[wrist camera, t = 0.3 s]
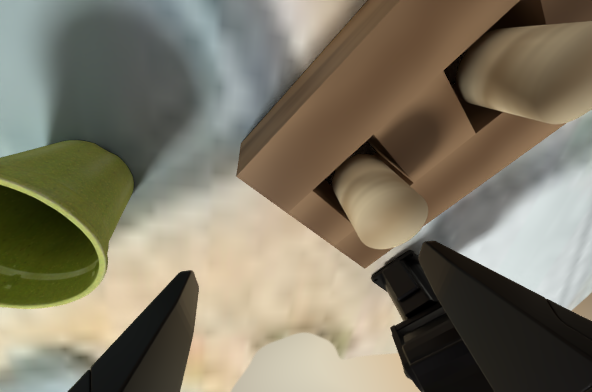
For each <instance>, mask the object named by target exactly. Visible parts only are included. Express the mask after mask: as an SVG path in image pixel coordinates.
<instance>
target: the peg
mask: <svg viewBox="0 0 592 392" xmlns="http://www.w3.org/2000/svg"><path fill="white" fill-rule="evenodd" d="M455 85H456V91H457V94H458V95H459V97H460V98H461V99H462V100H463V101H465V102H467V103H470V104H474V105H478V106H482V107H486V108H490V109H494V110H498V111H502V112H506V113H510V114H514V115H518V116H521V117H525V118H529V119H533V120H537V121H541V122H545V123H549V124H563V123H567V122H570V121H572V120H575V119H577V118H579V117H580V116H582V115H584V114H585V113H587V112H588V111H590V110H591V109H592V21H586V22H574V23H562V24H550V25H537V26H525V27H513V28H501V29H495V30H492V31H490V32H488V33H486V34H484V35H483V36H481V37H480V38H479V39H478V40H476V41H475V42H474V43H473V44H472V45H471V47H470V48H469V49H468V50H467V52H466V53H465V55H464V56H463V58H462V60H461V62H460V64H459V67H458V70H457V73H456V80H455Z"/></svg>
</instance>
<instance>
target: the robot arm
mask: <svg viewBox="0 0 592 392" xmlns="http://www.w3.org/2000/svg"><path fill="white" fill-rule="evenodd" d="M371 279H372V281H373V282H374V283H375V284H377V285H378V286H380V287H381V288H383V289H384V290H385V291H387V292H388V293H389V295H390V297H391V299H392V301H393V303H394V304H395V306H396V308H397V310H398V312H399V314H400V315H401V317H402V319H403V322H401V323H399V324H397V325H396V326H395V325H394V326H392V327H390V328H391V331H392V336H393V339H394V342H395V345H396V347H397V350H398V353H399V356H400V358H401V361H402V365H403V369H404V373H405V375H406V376H407V377H408V378H410V379H411V380H412V381H413V382H414V383H415V385H416V386H417V387H418V389H419V390H420V391H421V392H592V321H590V320H588V319H586V318H584V317H582V316H580V315H578V314H576V313H574V312H572V311H570V310H568V309H566V308H564V307H562V306H560V305H558V304H556V303H554V302H552V301H551V300H549V299H545V298H544V297H543V296H541V295H539V294H537V293H535V292H533V291H531V290H529V289H527V288H525V287H523V286H521V285H519V284H518V283H516V282H514V281H512V280H510V279H508V278H506V277H504V276H502V275H500V274H498V273H496V272H494V271H492V270H490V269H488V268H487V267H485V266H483V265H481V264H479V263H477V262H475V261H473V260H471V259H469V258H467V257H465V256H463V255H461V254H459V253H457V252H456V251H454V250H452V249H450V248H448V247H446V246H444V245H442V244H440V243H438V242H436V241H427V242H424V243H423V245H422V248H421V251H420V254H419V256H418V255H417V254H416V253H415V252H414V251H412V250H410V251H407V252H406V253H405V254H403V255H402V256H400V257H399V258H397V259H396V260H395V261H393V262H392V263H390V264H389V265H388V266H386V267H385V268H383V269H382V270H380V271H379V272H378V273H376V274H375V275H373V276H372V277H371ZM198 292H199V286H198V283H197V280H196V277H195V275H194V272H193V271H192V270H189V271H182V272H180V273H178V275H177V276H176V277H175V278H174V279H173V280H172V281H171V282H170V283H169V284H168V285H167V286H166V287H165V288H164V289H163V291H162V292H161V293H160V294H159V295H158V296H157V297H156V298H155V299H154V300H153V301H152V302H151V303H150V304H149V306H148V307H147V308H146V309H145V310H144V311H143V312H142V313H141V314H140V315H139V316H138V317H137V318H136V319H135V320H134V322H133V323H132V324H131V325H130V326H129V327H128V328H127V329H126V330H125V331H124V332H123V333H122V334H121V335H120V337H119V338H118V339H117V340H116V341H115V342H114V343H113V344H112V345H111V346H110V347H109V348H108V349H107V350H106V351H105V353H104V354H103V355H102V356H101V357H100V358H99V359H98V360H97V361H96V362H95V363H94V364H93V365H92V366H91V369H90V370H88V371H87V372H86V373H85V374H84V375H83V376H82V377H81V378H80V379H79V380H78V381H77V382H76V383H75V384H74V386H73V387H72V388H71V389H70V390H69V391H68V392H180V389H181V385H182V381H183V376H184V372H185V368H186V363H187V359H188V355H189V351H190V346H191V342H192V337H193V332H194V325H195V317H196V309H197V301H198Z"/></svg>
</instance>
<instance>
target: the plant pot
mask: <svg viewBox="0 0 592 392" xmlns="http://www.w3.org/2000/svg"><path fill="white" fill-rule="evenodd" d="M133 188H134V181H133V177H132V174H131V172H130V170H129V168H128V167H127V166H126V164H125V163H124V162H123V161H122V160H121V159H120V158H119V157H118V156H116V155H114V154H112V153H110V152H108V151H106V150H105V149H103V148H101V147H99V146H98V145H96V144H94V143H91V142H87V141H80V140H68V141H62V142H58V143H55V144H51V145H47V146H43V147H40V148H36V149H32V150H29V151H25V152H21V153H17V154H13V155H9V156H5V157H1V158H0V307H8V308H17V309H36V308H47V307H52V306H60V305H64V304H67V303H70V302H72V301H76V300H78V299H81V298H83V297H84V296H86V295H88V294H89V293H91V292H92V291H93V290H94V289H95V288H96V287H97V286H98V285H99V284H100V283H101V281H102V280H103V278H104V276H105V273H106V270H107V265H108V257H107V252H108V245H109V240H110V238H111V236H112V234H113V232H114V230H115V228H116V225H117V223H118V221H119V219H120V217H121V215H122V213H123V211H124V209H125V207H126V205H127V203H128V201H129V199H130V197H131V195H132V192H133Z"/></svg>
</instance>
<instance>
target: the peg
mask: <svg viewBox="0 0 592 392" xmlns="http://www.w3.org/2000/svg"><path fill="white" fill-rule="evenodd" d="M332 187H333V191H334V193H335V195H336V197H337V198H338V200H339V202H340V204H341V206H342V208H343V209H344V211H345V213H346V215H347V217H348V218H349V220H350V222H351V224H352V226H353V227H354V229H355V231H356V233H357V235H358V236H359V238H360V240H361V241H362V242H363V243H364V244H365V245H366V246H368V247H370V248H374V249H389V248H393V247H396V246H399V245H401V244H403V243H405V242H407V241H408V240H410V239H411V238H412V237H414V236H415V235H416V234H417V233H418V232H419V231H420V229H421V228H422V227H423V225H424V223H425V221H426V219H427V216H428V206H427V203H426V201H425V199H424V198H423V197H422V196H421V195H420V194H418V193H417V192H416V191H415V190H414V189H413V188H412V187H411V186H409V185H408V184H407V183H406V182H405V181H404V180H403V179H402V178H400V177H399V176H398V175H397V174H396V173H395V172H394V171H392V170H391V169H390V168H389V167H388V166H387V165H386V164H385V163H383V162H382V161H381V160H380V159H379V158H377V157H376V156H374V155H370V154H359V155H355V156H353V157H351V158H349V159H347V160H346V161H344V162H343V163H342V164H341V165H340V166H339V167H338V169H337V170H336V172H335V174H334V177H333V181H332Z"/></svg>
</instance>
